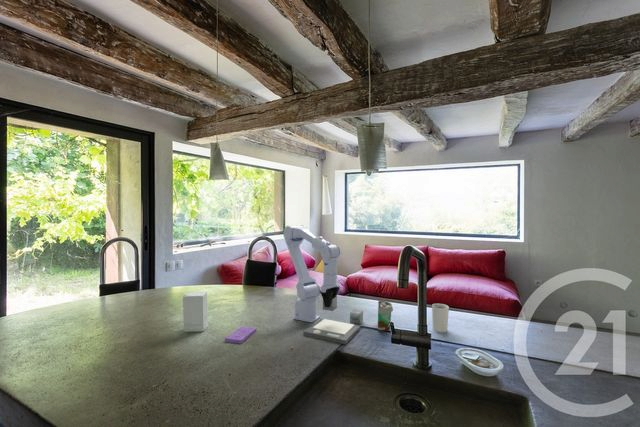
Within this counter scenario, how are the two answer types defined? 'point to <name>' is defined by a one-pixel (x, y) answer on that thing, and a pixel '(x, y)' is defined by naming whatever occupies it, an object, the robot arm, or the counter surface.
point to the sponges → (240, 335)
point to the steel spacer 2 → (356, 317)
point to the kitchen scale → (332, 331)
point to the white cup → (440, 317)
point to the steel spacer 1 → (332, 305)
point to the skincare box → (195, 311)
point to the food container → (384, 315)
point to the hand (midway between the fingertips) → (329, 305)
